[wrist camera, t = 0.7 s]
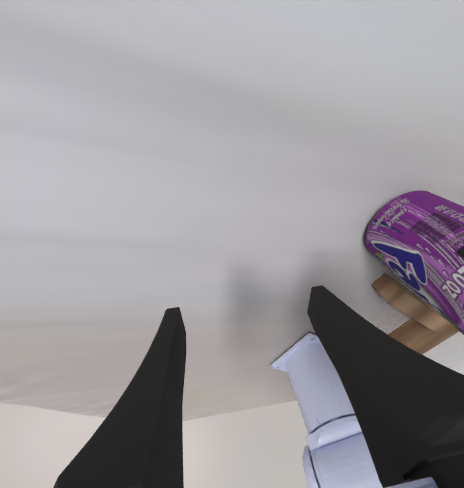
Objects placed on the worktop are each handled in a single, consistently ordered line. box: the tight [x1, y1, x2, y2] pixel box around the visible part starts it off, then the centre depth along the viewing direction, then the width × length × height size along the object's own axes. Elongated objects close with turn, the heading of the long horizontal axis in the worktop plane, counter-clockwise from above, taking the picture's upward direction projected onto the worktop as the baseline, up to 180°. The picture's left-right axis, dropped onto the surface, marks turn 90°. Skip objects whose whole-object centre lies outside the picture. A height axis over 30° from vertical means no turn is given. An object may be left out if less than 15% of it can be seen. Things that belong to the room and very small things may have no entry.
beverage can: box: [365, 191, 464, 334], centre depth 18 cm, size 7×7×12 cm
